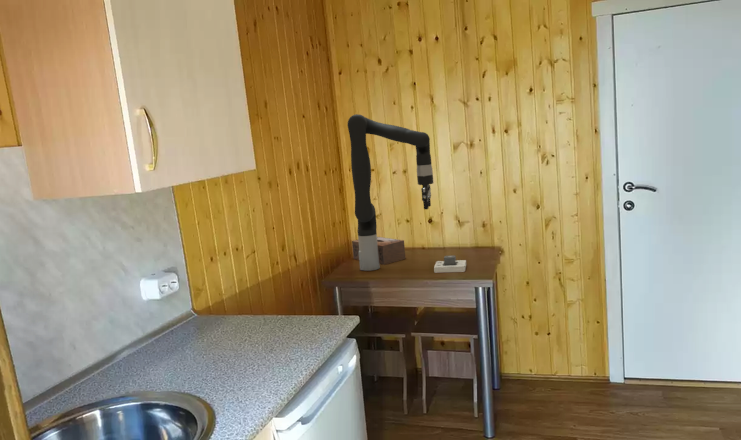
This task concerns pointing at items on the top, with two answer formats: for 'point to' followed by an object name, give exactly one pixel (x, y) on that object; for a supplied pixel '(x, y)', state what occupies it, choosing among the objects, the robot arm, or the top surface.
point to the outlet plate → (450, 267)
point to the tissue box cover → (385, 250)
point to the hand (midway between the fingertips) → (427, 207)
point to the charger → (449, 260)
